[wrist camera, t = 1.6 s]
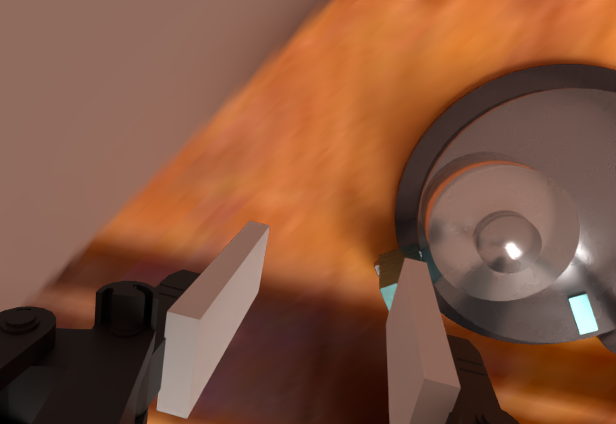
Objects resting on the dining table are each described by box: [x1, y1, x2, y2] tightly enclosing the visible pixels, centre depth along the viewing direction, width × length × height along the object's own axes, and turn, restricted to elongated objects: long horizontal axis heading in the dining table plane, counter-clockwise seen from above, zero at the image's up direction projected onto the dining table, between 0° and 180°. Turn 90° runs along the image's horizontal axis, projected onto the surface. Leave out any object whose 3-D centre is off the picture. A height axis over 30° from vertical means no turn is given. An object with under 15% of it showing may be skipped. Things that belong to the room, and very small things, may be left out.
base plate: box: [395, 64, 616, 344], centre depth 32 cm, size 21×21×1 cm
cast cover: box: [421, 152, 580, 301], centre depth 27 cm, size 8×8×7 cm
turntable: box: [374, 88, 616, 343], centre depth 29 cm, size 22×18×6 cm
